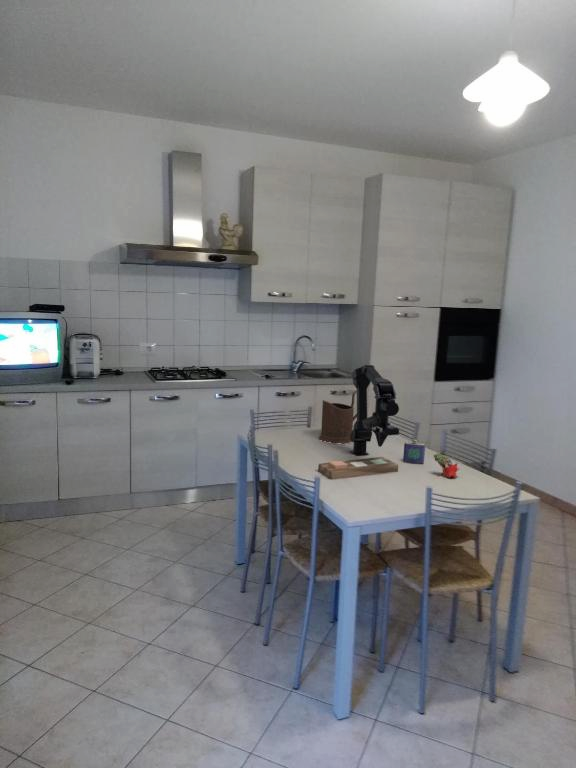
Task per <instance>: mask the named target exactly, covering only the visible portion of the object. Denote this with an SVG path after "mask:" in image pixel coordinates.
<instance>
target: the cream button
mask: <svg viewBox="0 0 576 768" xmlns="http://www.w3.org/2000/svg"><path fill="white" fill-rule="evenodd" d="M350 464H351V465H353V466H355V467H362V466H368V465H366V464H365V463H363V462H361V461H360V462H351V463H350Z"/></svg>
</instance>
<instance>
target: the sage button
mask: <svg viewBox="0 0 576 768" xmlns="http://www.w3.org/2000/svg"><path fill="white" fill-rule="evenodd" d="M370 462H372V463H374V464H376V465H379V464H388V463H387V462H385V461H383V460H381V459H378V460H370Z"/></svg>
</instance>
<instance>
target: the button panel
mask: <svg viewBox="0 0 576 768" xmlns="http://www.w3.org/2000/svg"><path fill="white" fill-rule="evenodd" d="M378 459H381V460H383V461H385V462H387V463H388V464H379V465H376V464H374V463H372V462H370V460H378ZM341 461H342V462H344V463H346V464H347V468H345V469H337V470H335V469H333V468H331V467H330V466H329V462H324V463H323V462H322V463H321V462H320V463H318V465H317V466H318V469H317V471H318V472H319V473H321V474H323V475H324V476H326V477H327V476H328V477H327V478H329V479H330V478H331V479H330V480H332V479H333V480H339V479H340V478H341V479H347V478H348V479H349V478H356V477H363V476H373V475H381V474H388V472H389V473H395V472H396V471H397V472H399V464H398V463H396V462H394V461H392V460H390V459H388V458H386V457H384V456H377V457H376V456H375V457H366V458H358V459H349V460H341ZM360 461H361V462H363V463H365V464H366V465H368V466H362V467H355V466H353V465H351V464H350V463H351V462H360ZM397 472H396V473H397ZM372 474H373V475H372ZM341 479H340V480H341Z"/></svg>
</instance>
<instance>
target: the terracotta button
mask: <svg viewBox="0 0 576 768" xmlns="http://www.w3.org/2000/svg"><path fill="white" fill-rule="evenodd" d="M342 461H343V460H335V461H333V460H332V461H328V463H329V466H330V467H331V468H333V469H335V470H337V469H345V468H347V464H346V463H344V462H342Z"/></svg>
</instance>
